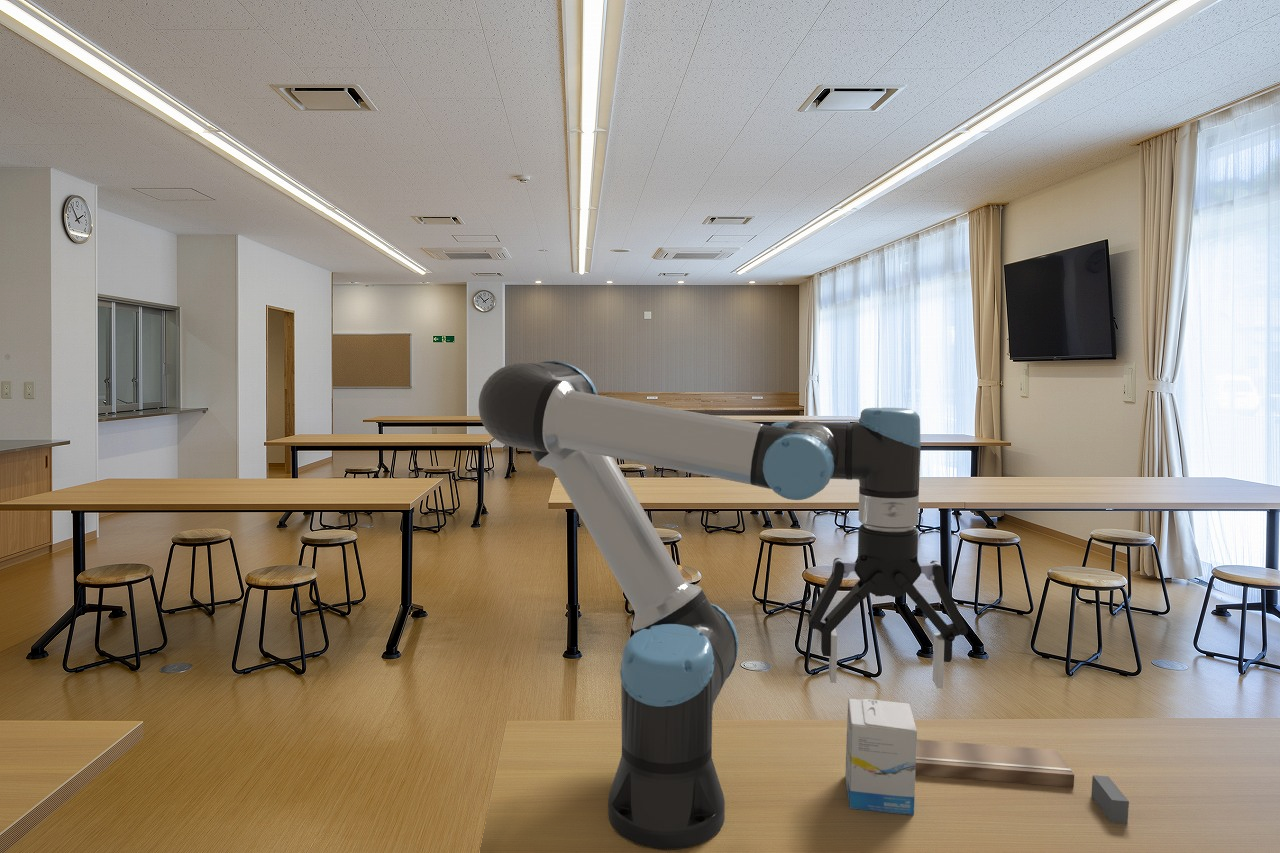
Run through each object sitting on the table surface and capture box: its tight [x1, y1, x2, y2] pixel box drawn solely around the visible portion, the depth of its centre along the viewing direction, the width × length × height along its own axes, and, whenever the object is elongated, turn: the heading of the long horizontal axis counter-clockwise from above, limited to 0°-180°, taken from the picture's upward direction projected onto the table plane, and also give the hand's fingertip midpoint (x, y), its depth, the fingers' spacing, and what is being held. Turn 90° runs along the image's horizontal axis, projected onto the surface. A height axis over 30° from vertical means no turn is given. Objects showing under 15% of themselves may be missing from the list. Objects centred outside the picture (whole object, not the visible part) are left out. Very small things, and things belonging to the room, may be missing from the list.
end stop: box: [1091, 774, 1130, 825], centre depth 104 cm, size 2×6×3 cm, turn 171°
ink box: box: [844, 697, 918, 816], centre depth 107 cm, size 9×8×12 cm
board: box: [915, 738, 1075, 788], centre depth 115 cm, size 26×7×2 cm, turn 81°
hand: (884, 681), depth 106 cm, fingers open, 13 cm apart
